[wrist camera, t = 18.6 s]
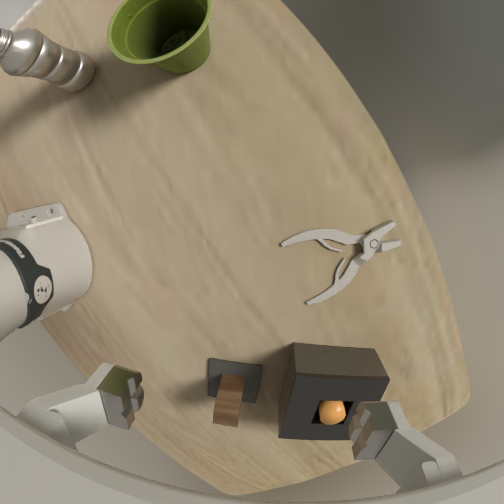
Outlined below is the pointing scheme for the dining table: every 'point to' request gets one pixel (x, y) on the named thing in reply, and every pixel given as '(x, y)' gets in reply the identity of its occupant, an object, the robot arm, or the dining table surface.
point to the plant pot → (161, 33)
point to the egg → (331, 412)
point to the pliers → (366, 241)
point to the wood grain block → (228, 400)
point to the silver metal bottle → (44, 59)
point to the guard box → (327, 388)
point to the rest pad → (234, 368)
